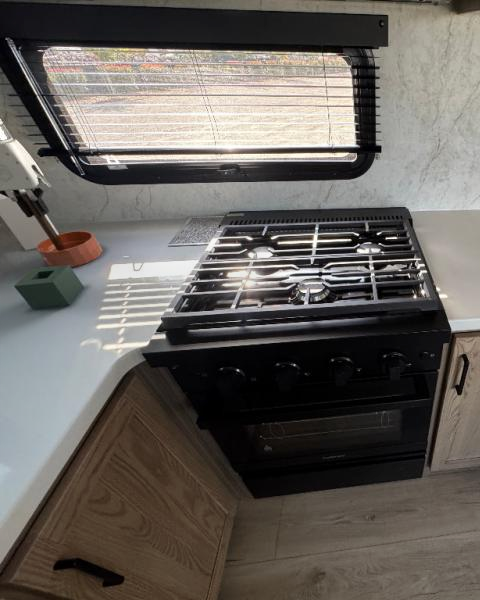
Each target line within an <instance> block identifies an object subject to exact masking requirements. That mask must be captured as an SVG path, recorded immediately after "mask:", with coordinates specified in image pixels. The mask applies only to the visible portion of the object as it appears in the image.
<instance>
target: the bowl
mask: <svg viewBox="0 0 480 600" xmlns="http://www.w3.org/2000/svg"><path fill="white" fill-rule="evenodd" d="M58 237H59V238H60V240H61V241H62V243H63V244H64V246H65V247H66V250H60V251H58V250H57V249H56V247H55V246H54V244H53V243H52V242H51V240H50V239H49V238H47V239H45V240H43V241H41V242H40V243H39V244H38V245H37V247H36V248H35V249H36V251H38V253H39V254H40V256H41V257H42V259H43V260H44V261H45V263H46V264H47V266H48V267H52V266H63V265H70V267H71V268H75V267H80V266H82V265H85V264H88V263H91V262H93V261H94V260H96V259H97V258H99V257H100V256H101V255H102V253H103V248H102V246H101V244H100V243H99V241H98V240H97V238H96V235H95V234H93V232H91V231H88V230H73V231H67V232H61V233H59V234H58Z"/></svg>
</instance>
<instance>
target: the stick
mask: <svg viewBox="0 0 480 600" xmlns="http://www.w3.org/2000/svg"><path fill="white" fill-rule="evenodd" d="M19 194H20V196H21V197H22V199H23V200H24V202H25V203H26V205H27V206H28V208H29V209H30V211H31V212H32V213H33V215H34V216H35V218H36V219H37V221H38V222H39V224H40V225H41V227H42V228H43V230H44V231H45V233H46V234H47V236H48V237H49V239H50V240H51V242H52V243H53V244H54V246H55V247H56V249H57V250H58V251H60V250H66V247H65V246H64V244H63V243H62V241H61V240H60V238H59V237H58V235H57V234H56V232H55V231H54V229H53V228H52V226H51V225H50V223H49V221H48V220H47V218H46V217H45V215H44V216H41V217H40V216H39V215H38V214H37V213H36V211H35V210H34V208H33V207H32V205H31V204H30V201H31V199H30V198H29V196H28V194H27V193H26V192H21V193H19Z"/></svg>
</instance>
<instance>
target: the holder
mask: <svg viewBox="0 0 480 600" xmlns="http://www.w3.org/2000/svg"><path fill="white" fill-rule="evenodd" d="M13 287H14V288H15V290H16V291H17V292H18V294H20V296H21V297H22V299H23V300H24V301H25V302H26V303H27V304H28V306H29V307H30V308H31V309H32V311H34V310H35V311H36V310H45V309H54V308H62V307H63V308H64V307H70V306H71V305H72V304H73V303H74V302H75V300H76V299H77V298H78V297H79V296H80V294H81V293H82V292H83V291H84V289H85V286H84V284H83V283H82V282H81V281H80V279H79V277H78V276H77V274H76V273H75V271H74V270H73V267H70V265H63V266H52V267H49V266H43V267H33V268H31V269H30V270H29V271H28V272H27V273H26V274H25V275H24V276H23V277H22V278H20V280H18V281H17V282H16V283H15V284H14V285H13Z"/></svg>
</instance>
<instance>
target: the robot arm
mask: <svg viewBox="0 0 480 600" xmlns="http://www.w3.org/2000/svg"><path fill="white" fill-rule="evenodd" d="M38 185H39V186H38ZM52 187H53V185H52V184H51V183H50V182H49V181H48V180H47V179H46V177H45V175H44V174H43V172H42V170H41V169H40V167H39V166H38V164H37V163H36V161H35V160H34V159H33V157H32V156H31V155H30V153H29V152H28V151H27V150H26V148H25V147H24V146H23V145H22V143H21V142H20V141H18V140H17V138H14V137H12V134H11V133H10V131H9V130H8V128H7V127H6V125H5V123H4V122H3V121H2V119H1V118H0V194H2V195H4V196H6V197H8V198H10V199H11V200H12V201H13V202H16V203H17V204H18V206H19V207H20V208H21V210H22V211H23V212H24V213H25V215H26V216H27V217H32V216H33V213H32V212H31V211H30V209H29V208H28V206H27V205H26V203H25V202H24V200H23V199H22V197H21V196H20V194H19V193H21V191H20V189H24V190H25V191H26V193H27V194H28V196H29V198H30V199H31V201H30V204H31V205H32V207H33V208H34V210H35V211H36V213H37V214H38V215H39V216H40V217H41V216H44V215H47V214H48V213H49V212H50V210H49V207H48V206H47V204H46V202H45V201H44V199H43V198H42V197H43V196H44V195H43V194H44V192H46V191H48V190H50V189H51V188H52Z"/></svg>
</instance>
